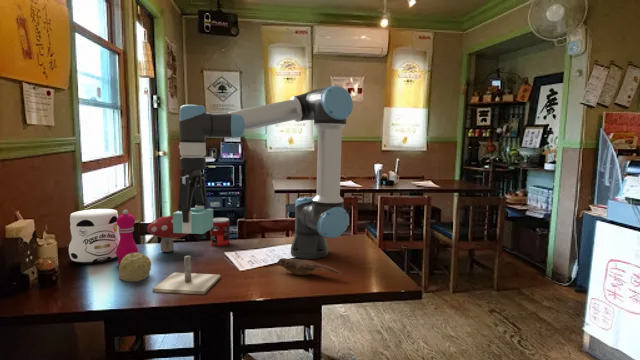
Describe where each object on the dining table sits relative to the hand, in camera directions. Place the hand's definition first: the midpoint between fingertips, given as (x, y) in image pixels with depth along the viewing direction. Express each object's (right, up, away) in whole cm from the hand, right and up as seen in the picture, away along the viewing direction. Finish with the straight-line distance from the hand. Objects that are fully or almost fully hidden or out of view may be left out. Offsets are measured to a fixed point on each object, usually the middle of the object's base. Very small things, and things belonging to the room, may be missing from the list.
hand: (193, 229), depth 122 cm
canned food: (-4, -13, +49) cm, 50 cm away
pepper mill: (-31, -15, +21) cm, 41 cm away
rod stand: (-2, -18, +3) cm, 18 cm away
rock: (-22, -17, +8) cm, 29 cm away
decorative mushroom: (-21, -14, +36) cm, 44 cm away
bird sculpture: (+35, -17, +12) cm, 41 cm away
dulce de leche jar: (-44, -15, +26) cm, 53 cm away
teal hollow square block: (0, 0, 0) cm, 0 cm away
